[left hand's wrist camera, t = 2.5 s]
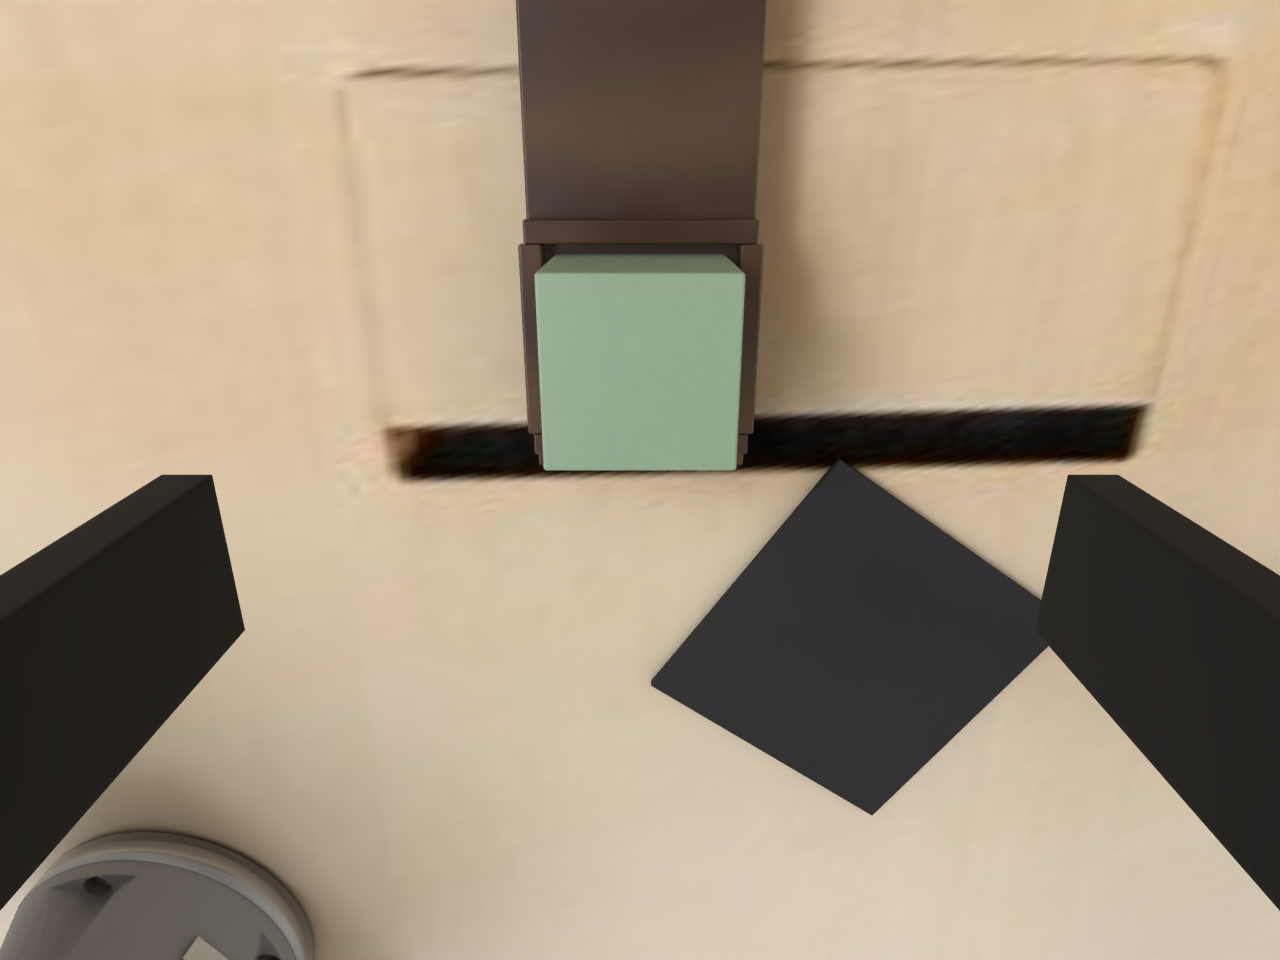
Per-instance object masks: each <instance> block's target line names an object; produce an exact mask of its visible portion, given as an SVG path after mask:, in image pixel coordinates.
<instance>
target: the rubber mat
mask: <svg viewBox="0 0 1280 960" xmlns="http://www.w3.org/2000/svg"><path fill="white" fill-rule="evenodd" d="M1040 605H1041V600H1040V599H1038V598H1037V597H1035V596H1034V595H1033V594H1031V593H1030V592H1028V591H1027V590H1026V589H1024V588H1023V587H1021V586H1020V585H1018V584H1017V583H1016V582H1014V581H1013V580H1011V579H1010V578H1008V577H1007V576H1006V575H1004V574H1003V573H1001V572H1000V571H999V570H997V569H996V568H994V567H993V566H991V565H990V564H989V563H987V562H986V561H984V560H983V559H982V558H980V557H979V556H977V555H976V554H974V553H973V552H972V551H970V550H969V549H967V548H966V547H965V546H963V545H962V544H960V543H959V542H957V541H956V540H955V539H953V538H952V537H950V536H949V535H948V534H946V533H945V532H943V531H942V530H940V529H939V528H938V527H936V526H935V525H933V524H932V523H931V522H929V521H928V520H926V519H925V518H923V517H922V516H921V515H919V514H918V513H916V512H915V511H914V510H912V509H911V508H909V507H908V506H906V505H905V504H904V503H902V502H901V501H899V500H898V499H897V498H895V497H894V496H892V495H891V494H889V493H888V492H887V491H885V490H884V489H882V488H881V487H880V486H878V485H877V484H875V483H874V482H872V481H871V480H870V479H868V478H867V477H865V476H864V475H862V474H861V473H860V472H858V471H857V470H855V469H854V468H853V467H851V466H850V465H848V464H847V463H845V462H844V461H843V460H841V459H840V458H838V459H837V461H836V462H835V463H834V464H833V465H832V466H831V468H830V469H829V470H828V471H827V472H826V474H825V475H824V476H823V477H822V478H821V480H820V481H819V482H818V483H817V484H816V485H815V487H814V488H813V489H812V490H811V491H810V493H809V494H808V495H807V496H806V497H805V499H804V500H803V501H802V502H801V503H800V505H799V506H798V507H797V508H796V509H795V510H794V512H793V513H792V514H791V515H790V516H789V518H788V519H787V520H786V521H785V522H784V524H783V525H782V526H781V527H780V528H779V530H778V531H777V532H776V533H775V534H774V535H773V537H772V538H771V539H770V540H769V541H768V543H767V544H766V545H765V546H764V547H763V549H762V550H761V551H760V552H759V553H758V554H757V556H756V557H755V558H754V559H753V560H752V562H751V563H750V564H749V565H748V566H747V568H746V569H745V570H744V571H743V572H742V574H741V575H740V576H739V577H738V578H737V579H736V581H735V582H734V583H733V584H732V585H731V587H730V588H729V589H728V590H727V591H726V593H725V594H724V595H723V596H722V597H721V598H720V600H719V601H718V602H717V603H716V604H715V606H714V607H713V608H712V609H711V610H710V612H709V613H708V614H707V615H706V616H705V618H704V619H703V620H702V621H701V622H700V623H699V625H698V626H697V627H696V628H695V629H694V631H693V632H692V633H691V634H690V635H689V637H688V638H687V639H686V640H685V641H684V643H683V644H682V645H681V646H680V647H679V648H678V650H677V651H676V652H675V653H674V654H673V656H672V657H671V658H670V659H669V660H668V662H667V663H666V664H665V665H664V666H663V667H662V669H661V670H660V671H659V672H658V673H657V675H656V676H655V677H654V678H653V679H652V681H651V685H652V686H653V687H655V688H656V689H658V690H660V691H661V692H663V693H665V694H667V695H668V696H670V697H672V698H673V699H675V700H677V701H678V702H680V703H682V704H684V705H685V706H687V707H689V708H690V709H692V710H694V711H695V712H697V713H699V714H701V715H702V716H704V717H706V718H707V719H709V720H711V721H712V722H714V723H716V724H718V725H719V726H721V727H723V728H724V729H726V730H728V731H729V732H731V733H733V734H735V735H736V736H738V737H740V738H741V739H743V740H745V741H746V742H748V743H750V744H752V745H753V746H755V747H757V748H758V749H760V750H762V751H763V752H765V753H767V754H769V755H770V756H772V757H774V758H775V759H777V760H779V761H780V762H782V763H784V764H786V765H787V766H789V767H791V768H792V769H794V770H796V771H797V772H799V773H801V774H803V775H804V776H806V777H808V778H809V779H811V780H813V781H814V782H816V783H818V784H820V785H821V786H823V787H825V788H826V789H828V790H830V791H831V792H833V793H835V794H837V795H838V796H840V797H842V798H843V799H845V800H847V801H848V802H850V803H852V804H854V805H855V806H857V807H859V808H860V809H862V810H864V811H865V812H867V813H869V814H871V815H873V814H874V813H875V812H876V811H877V810H878V809H879V808H880V807H881V806H882V805H883V804H884V803H886V802H887V801H888V800H889V799H890V798H891V797H892V796H893V795H894V794H895V793H896V792H897V791H898V790H899V789H900V788H901V787H902V786H903V785H904V784H905V783H906V782H907V781H908V780H909V779H910V778H912V777H913V776H914V775H915V774H916V773H917V772H918V771H919V770H920V769H921V768H922V767H923V766H924V765H925V764H926V763H927V762H928V761H929V760H930V759H931V758H932V757H933V756H934V755H935V754H936V753H938V752H939V751H940V750H941V749H942V748H943V747H944V746H945V745H946V744H947V743H948V742H949V741H950V740H951V739H952V738H953V737H954V736H955V735H956V734H957V733H958V732H959V731H960V730H961V729H962V728H964V727H965V726H966V725H967V724H968V723H969V722H970V721H971V720H972V719H973V718H974V717H975V716H976V715H977V714H978V713H979V712H980V711H981V710H982V709H983V708H984V707H985V706H986V705H987V704H988V703H990V702H991V701H992V700H993V699H994V698H995V697H996V696H997V695H998V694H999V693H1000V692H1001V691H1002V690H1003V689H1004V688H1005V687H1006V686H1007V685H1008V684H1009V683H1010V682H1011V681H1012V680H1013V679H1014V678H1016V677H1017V676H1018V675H1019V674H1020V673H1021V672H1022V671H1023V670H1024V669H1025V668H1026V667H1027V666H1028V665H1029V664H1030V663H1031V662H1032V661H1033V660H1034V659H1035V658H1036V657H1037V656H1038V655H1039V654H1040V653H1042V652H1043V651H1044V650H1045V649H1046V648H1047V647H1048V646H1049V645H1048V644H1047V643H1046V642H1045V641H1044V640H1043V638H1042V637H1041V636H1040V635H1039V634H1038V633H1037V632H1036V630H1035V628H1036V624H1037V619H1038V614H1039V609H1040Z"/></svg>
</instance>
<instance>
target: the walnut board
mask: <svg viewBox="0 0 1280 960" xmlns="http://www.w3.org/2000/svg"><path fill="white" fill-rule="evenodd" d="M516 14H517V34H518V54H519V74H520V94H521V114H522V134H523V154H524V174H525V194H526V214H527V219H525V220H523V236H524V242H523V243H521V244H520V245H519V246H518V251H519V269H520V288H521V306H522V325H523V343H524V361H525V380H526V398H527V417H528V432H529V433H530V434H534V449H535V454H539V464H541V465H543V444H542V423H541V402H540V381H539V360H538V339H537V318H536V297H535V273H536V272H537V271H539V270H540V269H541V268H542V267H543V266H544V265H545V264H546V263H547V262H548V261H549V260H550V259H551V258H553V257H554V256H555V255H556V254H724V255H725V256H726V257H727V258H729V259H730V260H731V261H732V262H733V263H734V264H735V265H736V266H737V267H738V268H739V269H740V270H741V271H742V272H744V273H745V296H744V316H743V337H742V358H741V379H740V400H739V421H738V442H737V463H736V465H741V464H742V463H743V454H746V453H747V445H748V435H747V434H751V433H753V431H754V414H755V396H756V377H757V359H758V341H759V323H760V305H761V287H762V269H763V251H764V246H763V245H762V244H761V243H759V242H758V236H759V220H757V219H755V213H756V193H757V174H758V154H759V134H760V115H761V95H762V75H763V56H764V36H765V16H766V0H516Z"/></svg>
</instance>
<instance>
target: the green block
mask: <svg viewBox="0 0 1280 960" xmlns="http://www.w3.org/2000/svg"><path fill="white" fill-rule="evenodd" d="M744 296H745V273H744V272H742V271H741V270H740V269H739V268H738V267H737V266H736V265H735V264H734V263H733V262H732V261H731V260H730V259H729V258H727V257H726V256H725V255H724V254H556V255H555V256H554V257H553V258H551V259H550V260H549V261H548V262H547V263H546V264H545V265H544V266H543V267H542V268H541V269H540V270H539V271H537V272H536V273H535V297H536V318H537V339H538V360H539V381H540V402H541V423H542V444H543V465H544V469H545V470H735V469H736V463H737V442H738V421H739V400H740V379H741V358H742V337H743V316H744Z"/></svg>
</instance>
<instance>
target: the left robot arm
mask: <svg viewBox="0 0 1280 960" xmlns="http://www.w3.org/2000/svg"><path fill="white" fill-rule="evenodd" d="M244 630H245V628H244V624H243V619H242V614H241V609H240V605H239V600H238V595H237V591H236V586H235V581H234V576H233V572H232V567H231V562H230V558H229V553H228V548H227V543H226V539H225V534H224V529H223V525H222V520H221V515H220V510H219V506H218V501H217V496H216V492H215V487H214V482H213V477H212V475H161V476H159V477H158V478H156V479H155V480H153V481H151V482H150V483H148V484H146V485H145V486H143V487H142V488H140V489H138V490H137V491H135V492H134V493H132V494H130V495H129V496H127V497H126V498H124V499H122V500H121V501H119V502H118V503H116V504H114V505H113V506H111V507H110V508H108V509H106V510H105V511H103V512H102V513H100V514H98V515H97V516H95V517H94V518H92V519H90V520H89V521H87V522H86V523H84V524H82V525H81V526H79V527H77V528H76V529H74V530H73V531H71V532H69V533H68V534H66V535H65V536H63V537H61V538H60V539H58V540H57V541H55V542H53V543H52V544H50V545H49V546H47V547H45V548H44V549H42V550H41V551H39V552H37V553H36V554H34V555H33V556H31V557H29V558H28V559H26V560H25V561H23V562H21V563H20V564H18V565H17V566H15V567H13V568H12V569H10V570H9V571H7V572H5V573H4V574H2V575H0V910H1V909H2V908H3V907H4V906H5V904H6V903H7V902H8V901H9V900H10V899H11V898H12V896H13V895H14V894H15V893H16V892H17V891H18V890H19V888H20V887H21V886H22V885H23V884H24V883H25V882H26V880H27V879H28V878H29V877H30V876H31V875H32V874H33V872H34V871H35V870H36V869H37V868H38V867H39V865H40V864H41V863H42V862H43V861H44V860H45V859H46V857H47V856H48V855H49V854H50V853H51V852H52V851H53V849H54V848H55V847H56V846H57V845H58V844H59V843H60V841H61V840H62V839H63V838H64V837H65V836H66V835H67V833H68V832H69V831H70V830H71V829H72V828H73V826H74V825H75V824H76V823H77V822H78V821H79V820H80V818H81V817H82V816H83V815H84V814H85V813H86V812H87V810H88V809H89V808H90V807H91V806H92V805H93V804H94V802H95V801H96V800H97V799H98V798H99V797H100V796H101V794H102V793H103V792H104V791H105V790H106V789H107V788H108V786H109V785H110V784H111V783H112V782H113V781H114V779H115V778H116V777H117V776H118V775H119V774H120V773H121V771H122V770H123V769H124V768H125V767H126V766H127V765H128V763H129V762H130V761H131V760H132V759H133V758H134V757H135V755H136V754H137V753H138V752H139V751H140V750H141V749H142V747H143V746H144V745H145V744H146V743H147V742H148V740H149V739H150V738H151V737H152V736H153V735H154V734H155V732H156V731H157V730H158V729H159V728H160V727H161V726H162V724H163V723H164V722H165V721H166V720H167V719H168V718H169V716H170V715H171V714H172V713H173V712H174V711H175V710H176V708H177V707H178V706H179V705H180V704H181V703H182V702H183V700H184V699H185V698H186V697H187V696H188V695H189V693H190V692H191V691H192V690H193V689H194V688H195V687H196V685H197V684H198V683H199V682H200V681H201V680H202V679H203V677H204V676H205V675H206V674H207V673H208V672H209V671H210V669H211V668H212V667H213V666H214V665H215V664H216V663H217V661H218V660H219V659H220V658H221V657H222V656H223V654H224V653H225V652H226V651H227V650H228V649H229V648H230V646H231V645H232V644H233V643H234V642H235V641H236V640H237V638H238V637H239V636H240V635H241V634H242V633H243V632H244ZM1035 630H1036V632H1037V633H1038V634H1039V635H1040V636H1041V637H1042V638H1043V640H1044V641H1045V642H1046V643H1047V644H1048V645H1049V646H1050V648H1051V649H1052V650H1053V651H1054V652H1055V653H1056V654H1057V656H1058V657H1059V658H1060V659H1061V660H1062V661H1063V663H1064V664H1065V665H1066V666H1067V667H1068V668H1069V669H1070V671H1071V672H1072V673H1073V674H1074V675H1075V676H1076V677H1077V679H1078V680H1079V681H1080V682H1081V683H1082V684H1083V685H1084V687H1085V688H1086V689H1087V690H1088V691H1089V692H1090V693H1091V695H1092V696H1093V697H1094V698H1095V699H1096V700H1097V702H1098V703H1099V704H1100V705H1101V706H1102V707H1103V708H1104V710H1105V711H1106V712H1107V713H1108V714H1109V715H1110V716H1111V718H1112V719H1113V720H1114V721H1115V722H1116V723H1117V724H1118V726H1119V727H1120V728H1121V729H1122V730H1123V731H1124V732H1125V734H1126V735H1127V736H1128V737H1129V738H1130V739H1131V740H1132V742H1133V743H1134V744H1135V745H1136V746H1137V747H1138V749H1139V750H1140V751H1141V752H1142V753H1143V754H1144V755H1145V757H1146V758H1147V759H1148V760H1149V761H1150V762H1151V763H1152V765H1153V766H1154V767H1155V768H1156V769H1157V770H1158V771H1159V773H1160V774H1161V775H1162V776H1163V777H1164V778H1165V779H1166V781H1167V782H1168V783H1169V784H1170V785H1171V786H1172V788H1173V789H1174V790H1175V791H1176V792H1177V793H1178V794H1179V796H1180V797H1181V798H1182V799H1183V800H1184V801H1185V802H1186V804H1187V805H1188V806H1189V807H1190V808H1191V809H1192V810H1193V812H1194V813H1195V814H1196V815H1197V816H1198V817H1199V818H1200V820H1201V821H1202V822H1203V823H1204V824H1205V825H1206V826H1207V828H1208V829H1209V830H1210V831H1211V832H1212V833H1213V835H1214V836H1215V837H1216V838H1217V839H1218V840H1219V841H1220V843H1221V844H1222V845H1223V846H1224V847H1225V848H1226V849H1227V851H1228V852H1229V853H1230V854H1231V855H1232V856H1233V857H1234V859H1235V860H1236V861H1237V862H1238V863H1239V864H1240V865H1241V867H1242V868H1243V869H1244V870H1245V871H1246V872H1247V874H1248V875H1249V876H1250V877H1251V878H1252V879H1253V880H1254V882H1255V883H1256V884H1257V885H1258V886H1259V887H1260V888H1261V890H1262V891H1263V892H1264V893H1265V894H1266V895H1267V896H1268V898H1269V899H1270V900H1271V901H1272V902H1273V903H1274V904H1275V906H1276V907H1277V908H1278V909H1279V910H1280V575H1278V574H1276V573H1275V572H1273V571H1271V570H1270V569H1268V568H1267V567H1265V566H1263V565H1262V564H1260V563H1259V562H1257V561H1255V560H1254V559H1252V558H1251V557H1249V556H1247V555H1246V554H1244V553H1243V552H1241V551H1239V550H1238V549H1236V548H1235V547H1233V546H1231V545H1230V544H1228V543H1227V542H1225V541H1223V540H1222V539H1220V538H1219V537H1217V536H1215V535H1214V534H1212V533H1211V532H1209V531H1207V530H1206V529H1204V528H1203V527H1201V526H1199V525H1198V524H1196V523H1194V522H1193V521H1191V520H1190V519H1188V518H1186V517H1185V516H1183V515H1182V514H1180V513H1178V512H1177V511H1175V510H1174V509H1172V508H1170V507H1169V506H1167V505H1166V504H1164V503H1162V502H1161V501H1159V500H1158V499H1156V498H1154V497H1153V496H1151V495H1150V494H1148V493H1146V492H1145V491H1143V490H1142V489H1140V488H1138V487H1137V486H1135V485H1134V484H1132V483H1130V482H1129V481H1127V480H1125V479H1124V478H1122V477H1121V476H1119V475H1068V477H1067V482H1066V487H1065V492H1064V496H1063V501H1062V506H1061V510H1060V515H1059V520H1058V525H1057V529H1056V534H1055V539H1054V543H1053V548H1052V553H1051V558H1050V562H1049V567H1048V572H1047V576H1046V581H1045V586H1044V591H1043V595H1042V600H1041V605H1040V609H1039V614H1038V619H1037V624H1036V628H1035ZM313 958H314V945H313V938H312V934H311V930H310V927H309V924H308V922H307V919H306V917H305V915H304V913H303V912H302V910H301V908H300V907H299V905H298V904H297V902H296V901H295V899H294V898H293V897H292V896H291V895H290V893H289V892H288V891H287V890H286V889H285V888H284V887H283V886H282V885H281V884H280V883H279V882H278V881H277V880H276V879H275V878H273V877H272V876H271V875H270V874H269V873H267V872H266V871H265V870H263V869H262V868H260V867H259V866H258V865H256V864H254V863H253V862H251V861H249V860H248V859H246V858H244V857H242V856H240V855H238V854H236V853H234V852H232V851H230V850H228V849H225V848H223V847H221V846H218V845H215V844H212V843H209V842H206V841H203V840H199V839H196V838H192V837H187V836H182V835H177V834H169V833H159V832H131V833H121V834H115V835H110V836H105V837H102V838H98V839H94V840H92V841H89V842H87V843H84V844H82V845H80V846H78V847H76V848H74V849H72V850H71V851H69V852H68V853H66V854H65V855H63V856H62V857H61V858H60V859H58V860H57V861H56V862H55V863H54V864H53V865H52V866H51V868H50V869H49V870H48V871H47V872H46V873H45V874H44V876H43V877H42V878H41V879H40V880H39V881H38V883H37V884H36V885H35V886H34V887H33V889H32V890H31V891H30V892H29V893H28V894H27V896H26V897H25V898H24V899H23V901H22V902H21V904H20V905H19V907H18V909H17V912H16V914H15V916H14V919H13V921H12V923H11V925H10V928H9V930H8V932H7V935H6V937H5V939H4V942H3V944H2V947H1V949H0V960H313Z"/></svg>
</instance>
